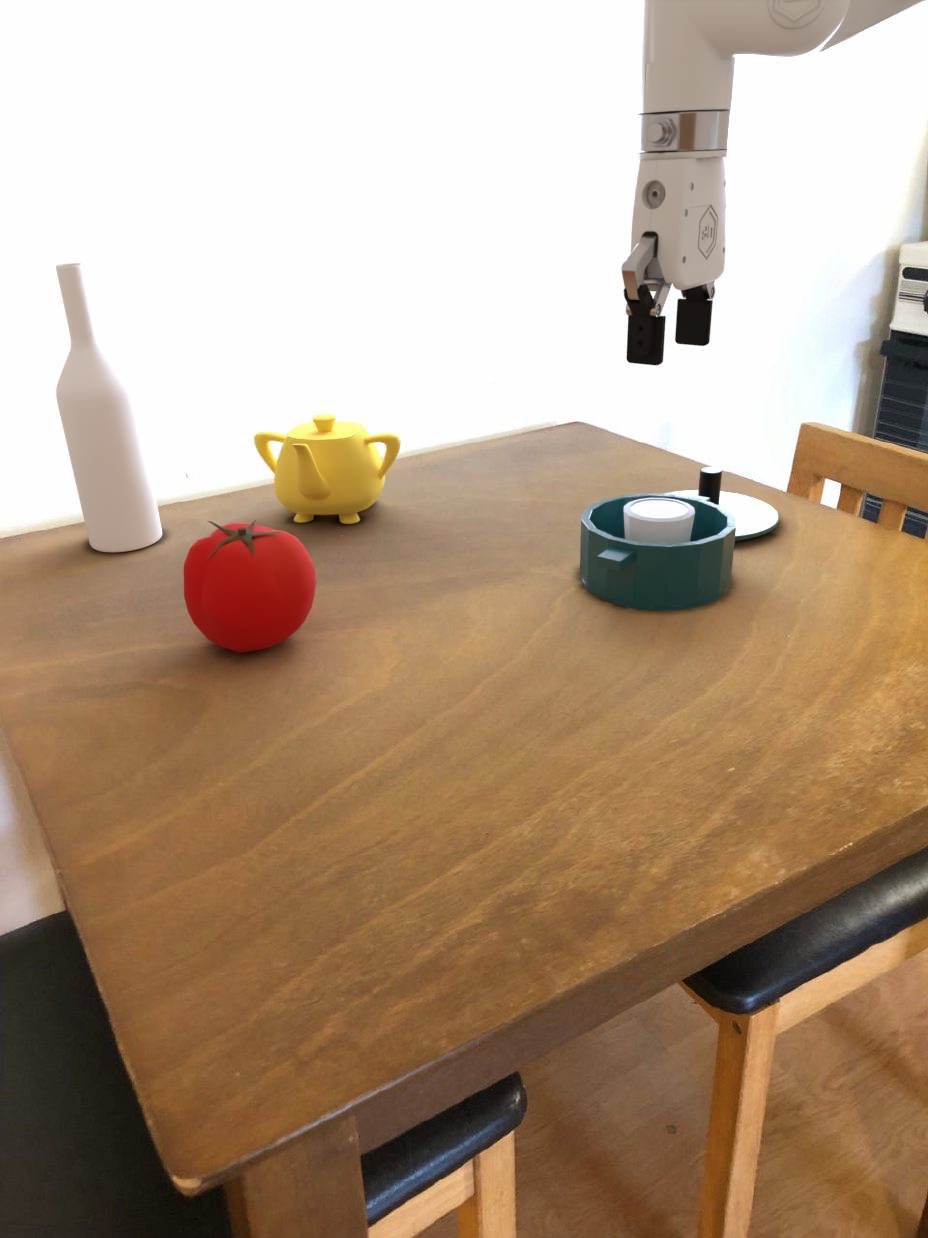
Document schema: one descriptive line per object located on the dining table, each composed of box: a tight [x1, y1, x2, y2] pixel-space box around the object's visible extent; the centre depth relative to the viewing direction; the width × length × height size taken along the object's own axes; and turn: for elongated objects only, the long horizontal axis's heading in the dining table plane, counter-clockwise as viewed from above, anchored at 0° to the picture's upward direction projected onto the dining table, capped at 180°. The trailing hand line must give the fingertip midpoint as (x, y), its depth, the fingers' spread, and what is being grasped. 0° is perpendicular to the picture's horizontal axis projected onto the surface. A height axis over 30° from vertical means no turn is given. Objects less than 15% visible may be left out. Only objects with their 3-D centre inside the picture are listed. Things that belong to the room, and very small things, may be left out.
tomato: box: [183, 519, 317, 654], centre depth 82 cm, size 12×12×11 cm
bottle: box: [55, 262, 163, 553], centre depth 101 cm, size 8×8×30 cm
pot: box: [579, 492, 736, 612], centre depth 92 cm, size 15×20×6 cm
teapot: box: [253, 413, 401, 525], centre depth 112 cm, size 14×14×12 cm
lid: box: [664, 466, 780, 541], centre depth 106 cm, size 16×16×6 cm
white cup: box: [624, 498, 695, 544], centre depth 92 cm, size 7×7×7 cm
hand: (669, 353), depth 84 cm, fingers open, 9 cm apart
